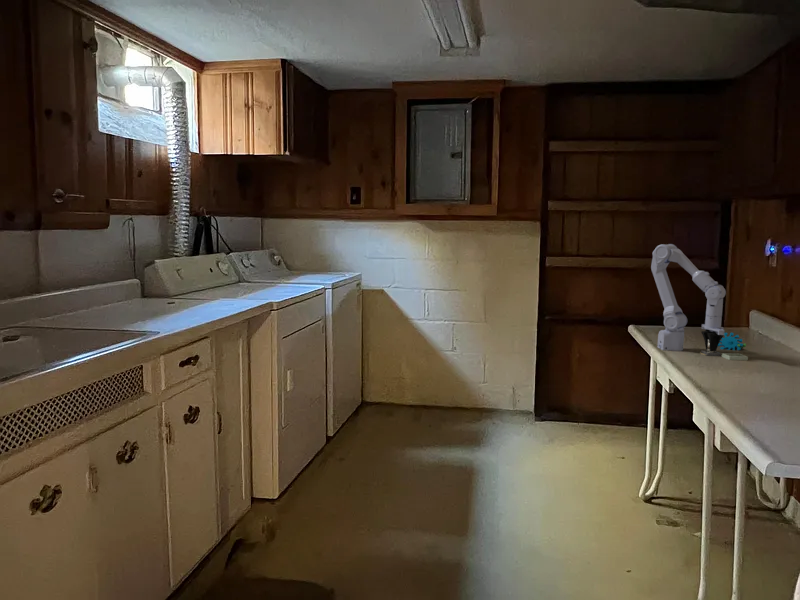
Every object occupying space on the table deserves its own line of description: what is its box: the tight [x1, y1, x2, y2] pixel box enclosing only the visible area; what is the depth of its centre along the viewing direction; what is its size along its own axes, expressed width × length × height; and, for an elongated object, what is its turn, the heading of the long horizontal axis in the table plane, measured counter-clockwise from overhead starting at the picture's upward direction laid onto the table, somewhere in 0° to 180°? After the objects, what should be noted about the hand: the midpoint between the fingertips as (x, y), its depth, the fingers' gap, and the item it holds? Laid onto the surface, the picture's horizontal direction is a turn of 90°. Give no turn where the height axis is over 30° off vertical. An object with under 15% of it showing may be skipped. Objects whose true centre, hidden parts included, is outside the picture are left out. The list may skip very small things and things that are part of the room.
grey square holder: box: [699, 349, 722, 357], centre depth 266 cm, size 7×6×2 cm
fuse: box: [706, 339, 714, 353], centre depth 266 cm, size 3×3×6 cm
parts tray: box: [721, 352, 749, 361], centre depth 259 cm, size 7×6×2 cm
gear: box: [718, 332, 747, 351], centre depth 281 cm, size 11×6×10 cm
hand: (710, 350), depth 266 cm, fingers closed on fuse, 3 cm apart
